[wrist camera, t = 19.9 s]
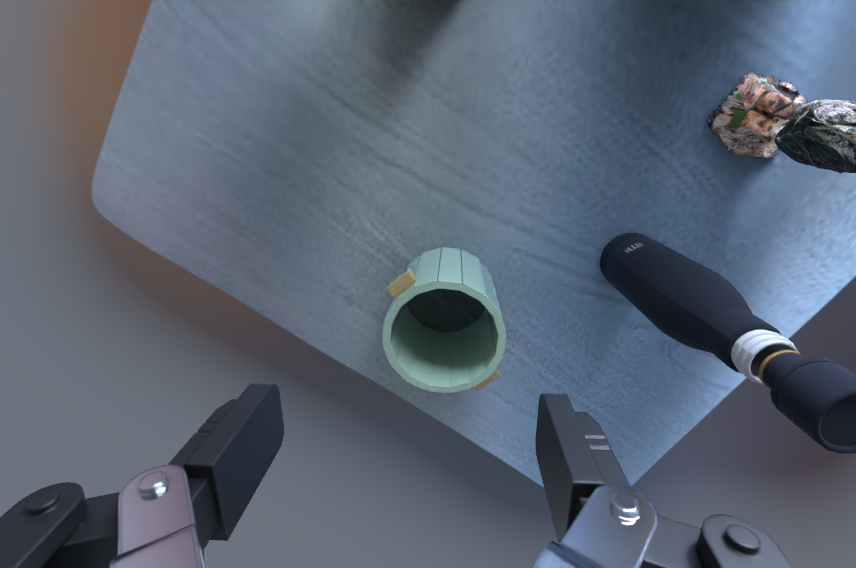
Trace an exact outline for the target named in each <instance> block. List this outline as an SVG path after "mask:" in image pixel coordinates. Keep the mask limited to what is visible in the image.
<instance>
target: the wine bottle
mask: <svg viewBox="0 0 856 568" xmlns="http://www.w3.org/2000/svg"><path fill="white" fill-rule="evenodd" d="M600 267H601V271H602V274H603V275H604V276H605V278H606V279H607V280H608V281H609V282H610V283H611V284H612V285H613V286H614V287H615V288H616V289H617V290H618V291H619V292H620V293H621V294H623V295H624V296H625V297H626V298H627V299H628V300H629V301H630V302H631V303H632V304H633V305H634V306H635V307H636V308H637V309H638V310H639V311H641V312H642V313H643V314H644V315H645V316H646V317H647V318H648V319H649V320H650V321H651V322H652V323H653V324H654V325H655V326H656V327H657V328H659V329H660V330H661V331H662V332H663V333H665V334H666V335H668V336H669V337H671V338H673V339H674V340H676V341H678V342H680V343H682V344H684V345H686V346H689V347H692V348H695V349H699V350H702V351H706V352H710V353H713V354H714V355H715V356H716V357H718V358H719V359H720V360H721V361H722V362H724V363H725V364H726V365H727V366H728V367H730V368H731V369H733V370H734V371H736V372H740V373H743V374H744V375H745V376H746V377H747V378H748V379H750V380H751V381H755V382H758V383H760V384H764V385H766V386H767V387H769V388H770V389H771V399H772V402H773V404H774V405H775V406H776V408H777V409H778V410H779V411H780V412H781V413H783V414H784V415H785V416H786V417H787V418H789V419H790V420H791V421H792V422H793V423H795V424H796V425H797V426H798V427H799V428H800V429H802V430H803V431H804V432H805V433H807V435H809V436H810V437H811V438H812V439H813V440H815V441H816V442H817V443H818V444H820V445H821V446H823V447H824V448H826V449H827V450H829V451H833V452H837V453H856V374H854V373H852V372H851V371H849V370H847V369H845V368H844V367H842V366H840V365H839V364H837V363H835V362H833V361H832V360H829V359H825V358H821V357H809V358H805V357H803V356H802V355H801V354H800V353H799V352H798V350H797V349H796V348H795V346H794V344H793V343H792V342H791V341H789V340H788V339H786V338H784V337H783V336H782V335H781V334H780V332H779V331H778V330H777V329H776V328H774V327H773V326H771V325H770V324H768V323H766V322H765V321H763V320H761V319H760V318H758V317H756V316H755V315H753V313H752V312H751V310H750V308H749V307H748V305H747V303H746V302H745V300H744V299H743V297H742V296H741V294H740V293H739V292H738V291H737V290H736V289H735V288H734V286H733V285H731V284H730V283H729V282H728V281H727V280H726V279H725V278H723V277H722V276H720V275H719V274H717V273H716V272H714V271H712V270H710V269H708V268H706V267H704V266H703V265H701V264H699V263H697V262H695V261H693V260H691V259H689V258H687V257H685V256H683V255H681V254H679V253H678V252H676V251H674V250H672V249H670V248H668V247H666V246H664V245H662V244H660V243H658V242H656V241H654V240H653V239H651V238H649V237H647V236H645V235H642V234H638V233H626V234H623V235H620V236H617V237H616V238H614V239H613V240H612V241H610V242H609V243H608V245H607V246H606V247H605V248H604V250H603V252H602V255H601V258H600Z"/></svg>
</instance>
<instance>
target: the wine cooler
mask: <svg viewBox="0 0 856 568" xmlns="http://www.w3.org/2000/svg"><path fill="white" fill-rule="evenodd" d="M438 288H439V289H449V290H459V291H461V292H463V293H465V294H467V295H469V296H471V297H473V298H475V299H477V300H479V301H480V302H481V303H482V304H483V306H484V307H485V310H484V311H483V313H482V314H481V316H480V318H479V319H478V320H477V321H476V322H474V323H473V324H472V325H470V326H469V327H467V328H466V329H462V330H459V331H455V332H451V333H449V332H439V331H434V330H432V329H430V328H428V327H426V326H424V325H422V324H420V323H419V322H418V321H417V319H416V318H415V317H414V316H413V315H412V314H411V313H410V311H409V308H408V305H407V302H408V301H409V300H411V299H412V298H413V297H415V296H416V295H417V294H420V293H424V292H428V291H431V290H435V289H438ZM386 290H387V291H388V292H389V293H390V294H391V296H392V297H393V299H392V301H391V304H390V307H389V309H388V312H387V314H386V317H385V319H384V322H383V335H382V344H383V348H384V350H385V353H386V356H387V358H388V361H389V364H391V366H392V367H393V368H394V370H395V371H396V372H397V373H398V374H399V375H400V376H401V377H402V378H403V379H404V380H405V381H406V382H408V383H410V384H412V385H414V386H416V387H418V388H421V389H423V390H425V391H426V390H427V391H429V392H439V393H448V394H449V391H450V394H451V393H455V392H459V391H464V390H468V389H471V388H475V389H476V390H477V391H478V390H479V389H481V388H482V387H484V386H485V385H487V384H488V383H490V382H491V381H493V380H494V379H496V378H497V377H499V371H498V368H497V366H498V365H499V363H500V362H501V360H502V359H503V356H504V351H505V345H506V338H507V333H506V329H505V325H504V321H503V317H502V313H501V309H500V306H499V302H498V298H497V294H496V290H495V287H494V283H493V280H492V276H491V273H490V271H489V270H488V269H487V268H486V267H485V265H484V264H483V263H482V262H481V261H480V259H478V258H477V257H476V256H474V255H472V254H470V253H468V252H466V251H464V250H461V249H455V248H445V247H442V248H441V247H440V248H437V249H433V250H430V251H426V252H423V253H422V254H420V255H419V256H418V257H417V258H416V259H414V260H413V261H412V262H411V263H409V265H408V266H407V268H406V269H405V271H404V272H403V273H402V274H400V275H399V276H398V277H397V278H395V279H394V280H393V281H392V282H390V283H389V284H388V286H387V288H386Z"/></svg>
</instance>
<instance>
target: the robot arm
mask: <svg viewBox="0 0 856 568" xmlns="http://www.w3.org/2000/svg"><path fill="white" fill-rule="evenodd" d="M283 436H284V423H283V415H282V408H281V401H280V392H279V388H278V386H277V385H276V384H250V385H249V386H248V387H247V388H246V390H245V391H244V392H243V393H242V394H241V396H240V397H239V398H238V399H237V400H235V399H232V400H230V401H229V402H227V403H226V404H224V405H222V406H221V407H219V408H218V409H216V410H215V412H214V413H213V414H212V415H211V416H210V417H209V418H208V419H207V421H206V423H204V424H203V425H202V426H201V427H200V429H199V430H198V433H195V434H194V436H192V438H191V439H190V440H189V441H188V442H187V443H186V444H185V446H184V447H183V448H182V449H181V450H180V451H179V452H178V453H177V455H176V456H175V457H174V458H173V459H172V460H171V462H170V463H169V464H168V465H162V466H158V467H154V468H151V469H149V470H146V471H144V472H142V473H140V474H139V475H137V476H135V477H134V478H133V479H131V480H130V481H129V482H128V483H127V484H126V485H125V486H124V487H123V488H122V490H121V492H119V493H114V494H108V495H103V496H98V497H93V498H88V499H86V498H85V495H84V492H83V489H82V487H81V486H80V485H79V484H76V483H69V482H68V483H59V484H55V485H51V486H48V487H45V488H43V489H40V490H38V491H36V492H34V493H32V494H30V495H29V496H26V497H25V498H23V499H22V500H20V501H19V502H18V503H17V504H15V505H14V506H13V507H12V508H11V509H9V510H8V511H7V512H6V513H5V514H4V515H3V516H1V517H0V568H207V564H206V558H205V554H204V548H205V547H206V545H207V544H208V542H209V540H225V541H227V540H228V539H229V537H230V535H231V533H232V532H233V530H234V528H235V526H236V524H237V523H238V521H239V519H240V518H241V516H242V514H243V512H244V511H245V509H246V507H247V505H248V504H249V502H250V500H251V498H252V496H253V495H254V493H255V491H256V489H257V488H258V486H259V484H260V482H261V481H262V479H263V477H264V475H265V473H266V472H267V470H268V468H269V467H270V465H271V463H272V461H273V460H274V458H275V456H276V454H277V452H278V450H279V449H280V447H281V444H282V441H283ZM536 455H537V460H538V464H539V468H540V472H541V476H542V480H543V484H544V488H545V492H546V496H547V500H548V504H549V508H550V512H551V516H552V520H553V524H554V528H555V531H556V535H557V539H558V543H559V544H557V543H555V542H554V541H552V542H550V543H549V544H548V545H547V546H546V547H545V549H544V550H543V552H542V553H541V555H540V556H539V558H538V559H537V560H536V562H535V563H534V565H533V566H532V568H794V567H793V566H792V564H791V563H790V561H789V560H788V559H787V557H786V556H785V554H784V553H783V552H782V551H781V549H780V548H779V546H778V545H777V544H776V543H775V541H774V540H773V539H772V538H771V537H770V536H769V535H767V534H766V533H765V532H764V531H763V530H761V529H760V528H758V527H757V526H755V525H753V524H751V523H750V522H747V521H745V520H743V519H740V518H738V517H734V516H730V515H724V514H716V515H711V516H709V517H707V518H706V519H705V520H704V521H703V523H702V527H701V528H697V527H694V526H691V525H687V524H684V523H680V522H677V521H674V520H670V519H668V518H665V517H663V516H660V515H659V514H658V513H657V511H656V509H655V507H654V506H653V504H652V503H651V502H650V501H649V500H648V499H647V498H646V497H645V496H644V495H642V494H640V493H639V492H637V491H636V490H634V489H631V487H630V485H629V483H628V481H627V479H626V477H625V475H624V473H623V471H622V469H621V467H620V465H619V463H618V461H617V459H616V457H615V455H614V453H613V451H612V450H611V447H610V445H609V443H608V441H607V439H605V435H604V433H603V431H602V429H601V427H600V425H599V423H598V422H596V421H595V420H594V419H593V418H592V417H591V416H590V415H589V414H587V413H586V412H575V411H574V409H573V407H572V404H571V402H570V400H569V398H568V396H567V395H566V394H541V395H540V398H539V407H538V418H537V429H536Z"/></svg>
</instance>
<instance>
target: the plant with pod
mask: <svg viewBox="0 0 856 568" xmlns="http://www.w3.org/2000/svg"><path fill="white" fill-rule="evenodd" d="M758 75H759V74H754V73H753V72H751V73H749V74H747V75H744V76H743V77H745V78H746V79H740V84H734V85H735V86H736V87H737V88H738V89H739V90H737V91H731V92H732V93H733V94H734V95H735V96H733V95H728V98H727V101H724V100H722V105H720V106H719V108H720V109H717V112H716V111H713V114H712V115H709V118H708V122H709V124H708V125H709V128H710V127H711V129H713V131H714V132H715V133H716V135H718V136H719V138H720V139H722V141H723V142H724V143H725V144H726V146H728V145H729V148H728V151H729V150H730V149H732V148H733V151H732V153H733V154H735V155H736V156H737V155H738V154H739V153H740V155H741V156H742V155H743V157H744V156H748V155H749V156H750V154H751V155H752V156H757V157H758V159H759V156H760V157H764V158H765V156H766V157H767V158H768V156H769V158H770V156H771V157H772V158H773V159H774V157H773V156H776V153H777V154H779V153H778V151H780V150H781V151H782V152H784V153H785V154H786V155H788V156H789V157H790V158H792V159H793V160H795V161H797V162H798V163H802V164H806V165H812V166H815V167H817V168H822V169H828V170H833V171H837V172H839V173H842V172H849V173H856V105H853V104H854V102H849V101H839V100H828V99H827V100H821V101H817V100H816V101H813V102H811V103H810V102H808V101H807V100H806V98H805V99H804V97H805V96H804V97H803V98H802V95H800V96H799V94H800V93H798V91H797V87H796V88H793V85H791V83H792V82H791V83H786V84H785V82H784V83H781V80H779V81H778V82H776V81H775V79H774V77H773V76H770V77H767V78H764V76H763V75H761V76H760V77H759V78H758ZM797 93H798V94H797ZM805 100H806V101H805Z"/></svg>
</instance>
